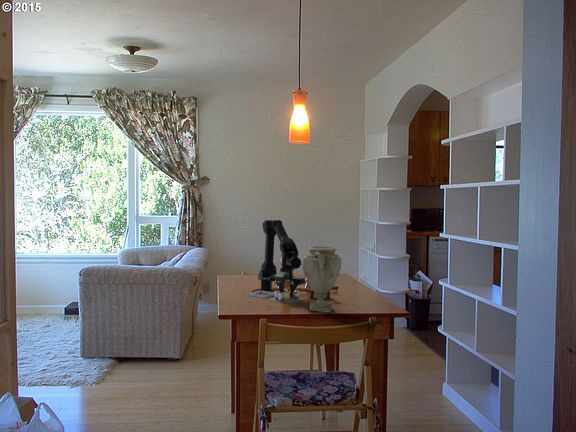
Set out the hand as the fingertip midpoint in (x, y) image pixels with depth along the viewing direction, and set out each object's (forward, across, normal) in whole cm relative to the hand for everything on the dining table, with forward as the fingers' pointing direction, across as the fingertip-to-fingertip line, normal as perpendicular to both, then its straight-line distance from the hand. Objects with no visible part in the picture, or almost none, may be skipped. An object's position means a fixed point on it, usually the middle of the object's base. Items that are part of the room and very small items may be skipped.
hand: (286, 296), depth 286 cm
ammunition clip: (+2, +12, +13) cm, 18 cm away
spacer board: (+2, 0, 0) cm, 2 cm away
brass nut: (+1, 0, 0) cm, 1 cm away
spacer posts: (+2, 0, 0) cm, 2 cm away
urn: (+2, +24, -8) cm, 25 cm away
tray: (+2, -15, 0) cm, 15 cm away
